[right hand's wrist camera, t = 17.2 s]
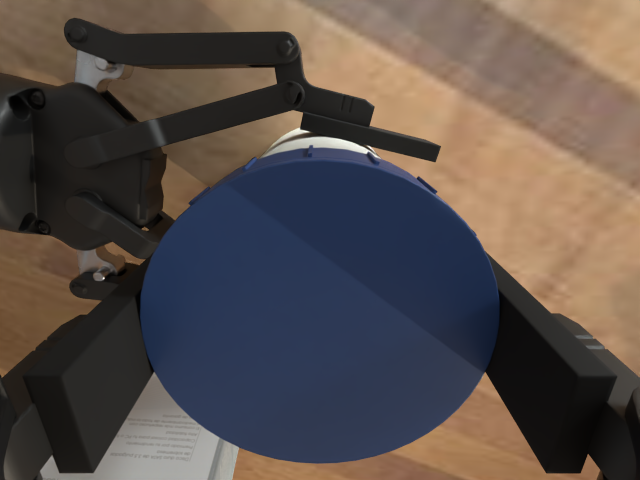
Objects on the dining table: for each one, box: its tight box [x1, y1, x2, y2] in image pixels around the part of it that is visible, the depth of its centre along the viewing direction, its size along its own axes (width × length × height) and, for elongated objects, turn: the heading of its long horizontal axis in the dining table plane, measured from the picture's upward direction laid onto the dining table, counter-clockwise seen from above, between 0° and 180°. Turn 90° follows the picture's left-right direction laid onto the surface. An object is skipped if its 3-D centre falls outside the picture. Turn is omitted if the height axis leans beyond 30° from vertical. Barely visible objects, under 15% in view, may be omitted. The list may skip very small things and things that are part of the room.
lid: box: [140, 145, 500, 463], centre depth 11 cm, size 10×10×2 cm
